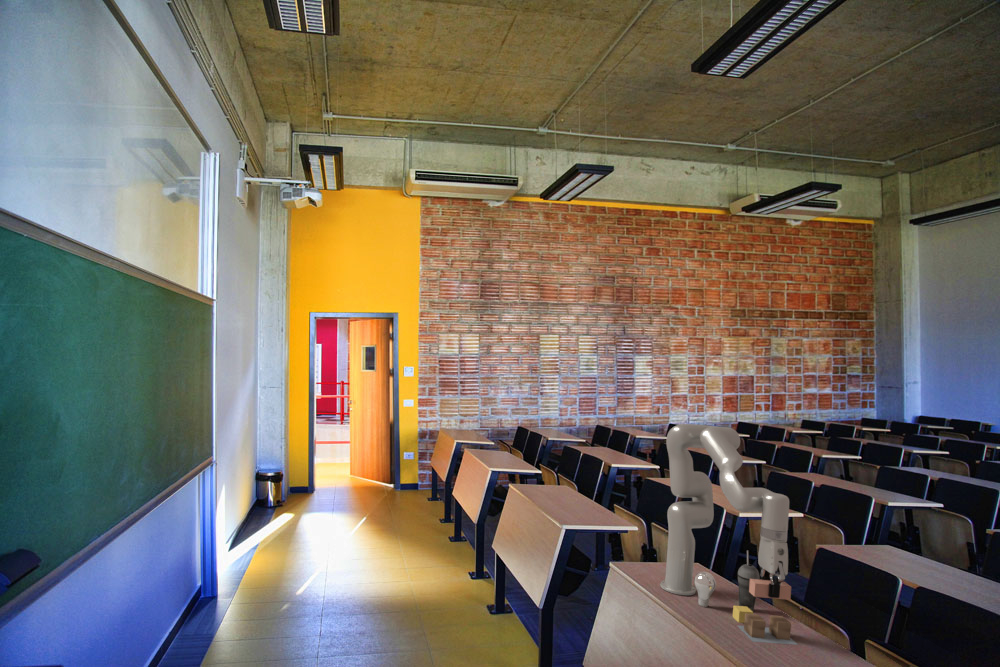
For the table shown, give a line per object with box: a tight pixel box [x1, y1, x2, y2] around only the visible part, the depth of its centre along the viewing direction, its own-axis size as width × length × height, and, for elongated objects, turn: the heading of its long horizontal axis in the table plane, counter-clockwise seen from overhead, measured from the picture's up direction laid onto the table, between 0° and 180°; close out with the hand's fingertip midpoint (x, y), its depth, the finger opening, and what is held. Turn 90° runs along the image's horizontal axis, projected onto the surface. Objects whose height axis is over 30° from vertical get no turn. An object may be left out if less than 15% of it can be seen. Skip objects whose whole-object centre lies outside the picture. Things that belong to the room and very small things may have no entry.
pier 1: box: [743, 613, 766, 638], centre depth 186 cm, size 5×4×5 cm
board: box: [736, 624, 799, 646], centre depth 186 cm, size 11×14×1 cm
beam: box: [749, 579, 792, 601], centre depth 187 cm, size 11×4×4 cm, turn 90°
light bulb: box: [693, 571, 717, 608], centre depth 206 cm, size 7×7×12 cm
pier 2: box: [768, 615, 792, 640], centre depth 187 cm, size 5×4×5 cm
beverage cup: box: [736, 550, 761, 612], centre depth 207 cm, size 7×7×20 cm
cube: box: [732, 605, 754, 624], centre depth 196 cm, size 4×4×4 cm
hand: (769, 593), depth 187 cm, fingers closed on beam, 4 cm apart
